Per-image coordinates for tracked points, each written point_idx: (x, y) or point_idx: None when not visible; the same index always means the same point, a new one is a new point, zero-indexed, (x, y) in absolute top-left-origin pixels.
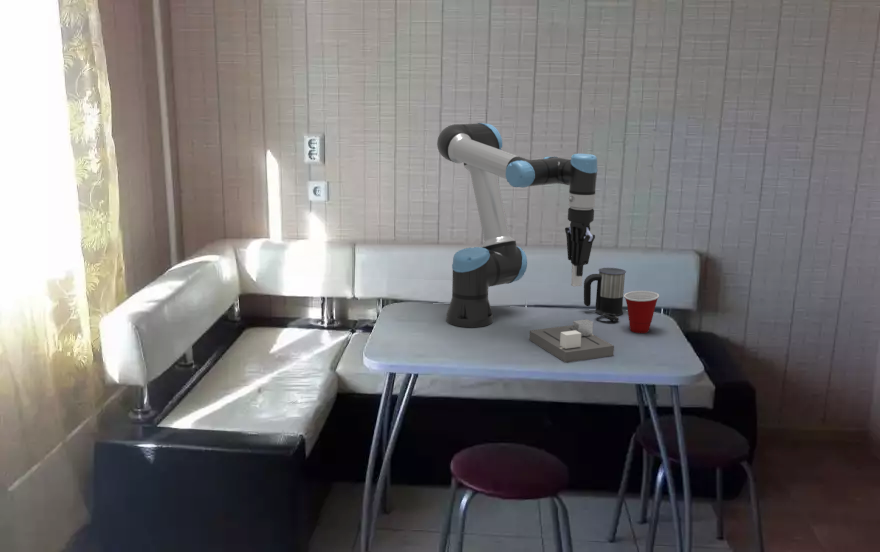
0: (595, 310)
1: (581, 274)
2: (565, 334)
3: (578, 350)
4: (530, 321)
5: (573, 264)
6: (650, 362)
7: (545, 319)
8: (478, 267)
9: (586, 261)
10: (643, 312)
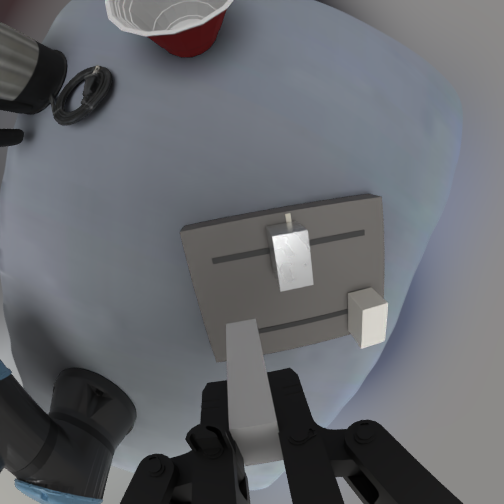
0: (26, 113)
1: (298, 381)
2: (379, 341)
3: (383, 296)
4: (80, 301)
5: (251, 462)
6: (416, 135)
7: (65, 261)
8: (93, 498)
9: (379, 447)
10: (225, 11)
